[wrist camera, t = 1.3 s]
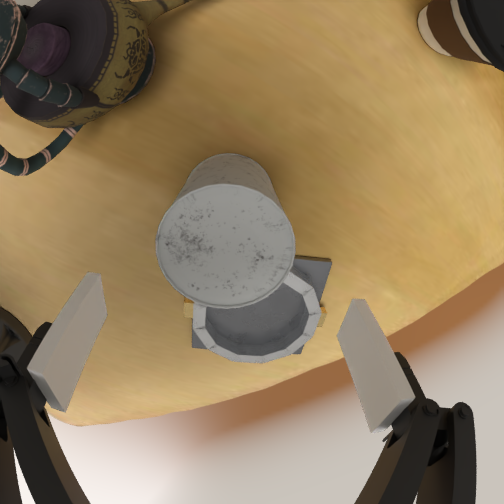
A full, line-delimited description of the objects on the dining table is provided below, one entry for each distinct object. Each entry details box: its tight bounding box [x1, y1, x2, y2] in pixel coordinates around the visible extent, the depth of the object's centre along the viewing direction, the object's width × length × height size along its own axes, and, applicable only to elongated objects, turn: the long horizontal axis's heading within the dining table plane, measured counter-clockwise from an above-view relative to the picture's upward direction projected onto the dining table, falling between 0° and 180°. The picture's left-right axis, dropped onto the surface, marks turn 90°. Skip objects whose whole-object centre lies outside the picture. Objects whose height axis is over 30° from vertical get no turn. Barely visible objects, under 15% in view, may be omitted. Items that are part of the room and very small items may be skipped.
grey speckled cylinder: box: [156, 153, 295, 309], centre depth 25 cm, size 10×10×12 cm
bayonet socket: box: [184, 256, 332, 363], centre depth 36 cm, size 18×16×3 cm
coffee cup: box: [417, 0, 504, 72], centre depth 15 cm, size 11×11×12 cm
